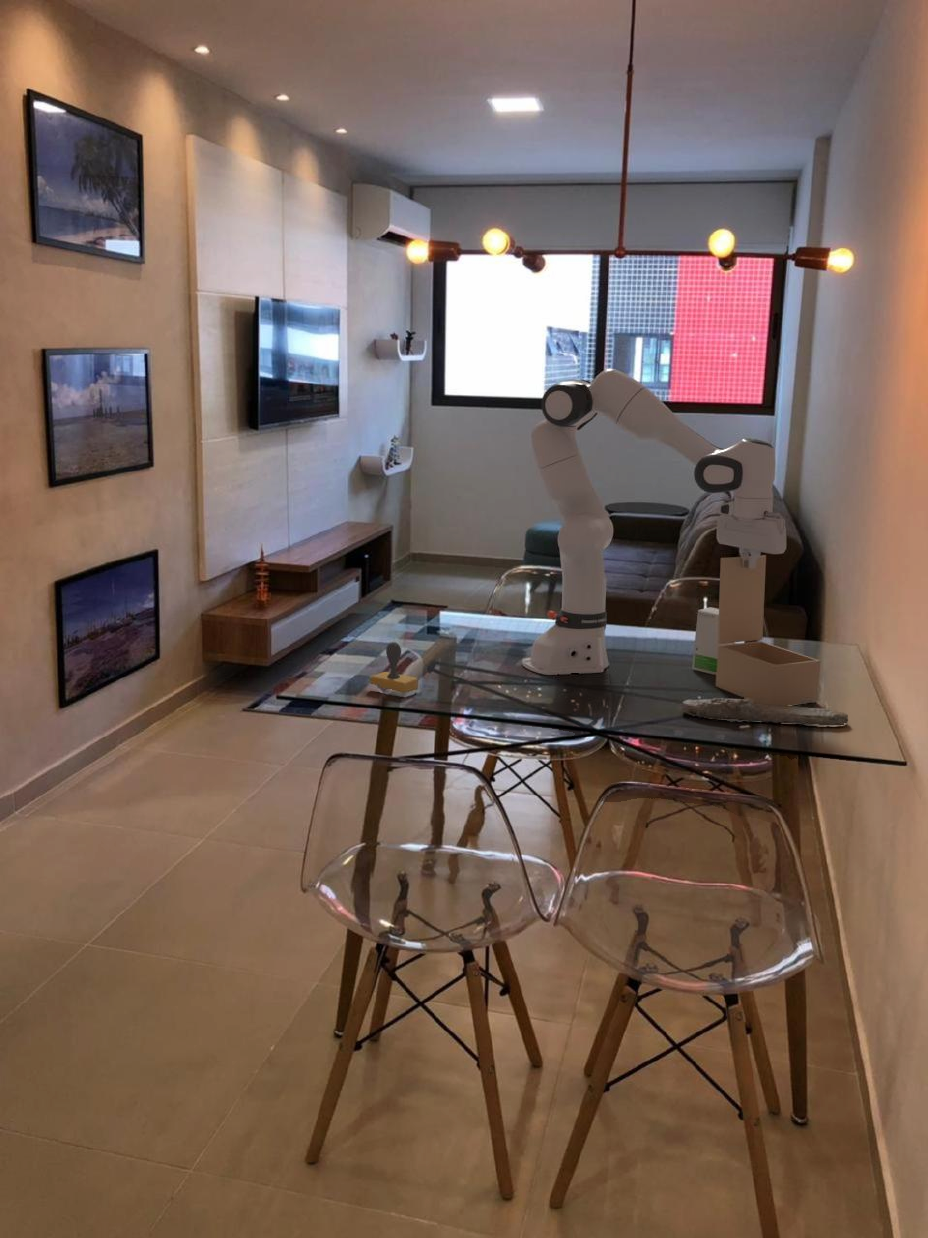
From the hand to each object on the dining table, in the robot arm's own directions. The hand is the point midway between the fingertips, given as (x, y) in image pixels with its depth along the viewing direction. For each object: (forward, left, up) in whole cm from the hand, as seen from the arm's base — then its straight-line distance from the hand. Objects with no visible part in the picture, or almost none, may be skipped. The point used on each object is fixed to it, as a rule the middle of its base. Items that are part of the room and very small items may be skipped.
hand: (748, 567), depth 252 cm
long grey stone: (-13, -24, -29) cm, 40 cm away
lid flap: (0, +1, -8) cm, 8 cm away
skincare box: (+2, +13, -29) cm, 32 cm away
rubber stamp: (-80, +25, -29) cm, 89 cm away
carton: (0, -9, -29) cm, 30 cm away
